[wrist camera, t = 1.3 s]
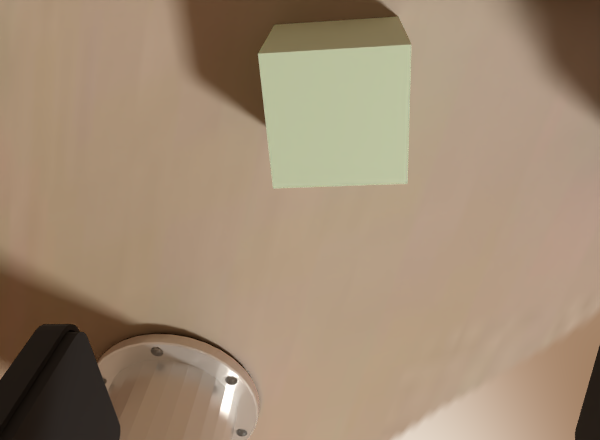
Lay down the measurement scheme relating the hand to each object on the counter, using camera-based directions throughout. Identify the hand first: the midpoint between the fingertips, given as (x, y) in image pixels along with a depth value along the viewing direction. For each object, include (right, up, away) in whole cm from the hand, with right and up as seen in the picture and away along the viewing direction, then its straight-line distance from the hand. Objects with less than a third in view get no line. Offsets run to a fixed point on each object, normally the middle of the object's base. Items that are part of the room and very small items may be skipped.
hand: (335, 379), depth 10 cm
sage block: (+1, +10, +18) cm, 20 cm away
